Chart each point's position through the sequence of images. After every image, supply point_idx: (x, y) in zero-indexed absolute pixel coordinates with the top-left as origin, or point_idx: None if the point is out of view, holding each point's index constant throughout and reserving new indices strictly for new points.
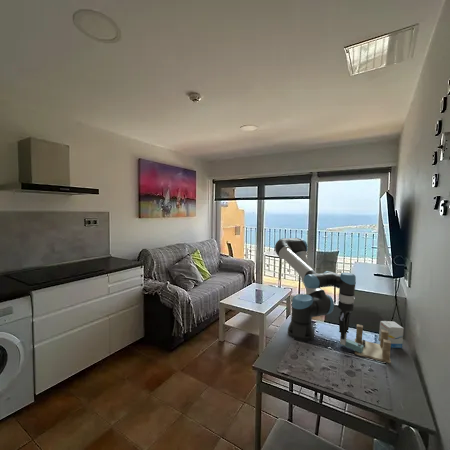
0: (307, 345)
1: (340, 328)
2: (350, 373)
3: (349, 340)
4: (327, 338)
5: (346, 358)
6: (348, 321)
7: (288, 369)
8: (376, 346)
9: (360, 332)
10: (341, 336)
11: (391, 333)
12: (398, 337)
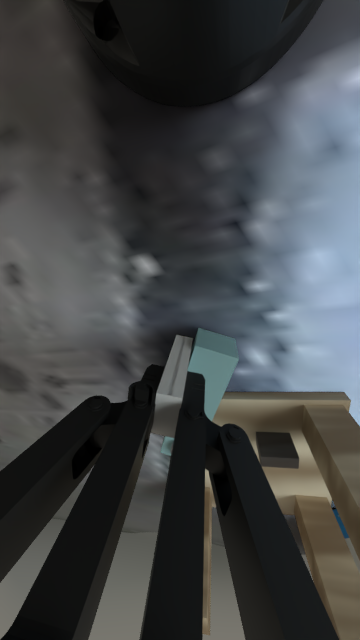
0: (55, 107)
1: (37, 452)
2: (5, 379)
3: (210, 400)
4: (273, 224)
5: (97, 361)
6: (244, 629)
7: None
8: (297, 482)
9: (336, 495)
10: (141, 379)
11: None
12: None
